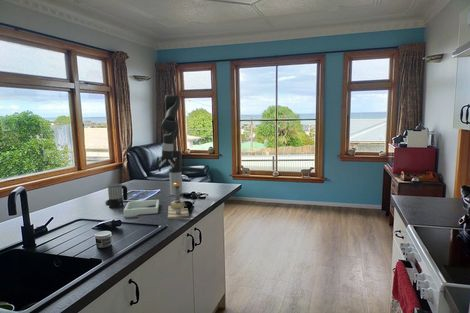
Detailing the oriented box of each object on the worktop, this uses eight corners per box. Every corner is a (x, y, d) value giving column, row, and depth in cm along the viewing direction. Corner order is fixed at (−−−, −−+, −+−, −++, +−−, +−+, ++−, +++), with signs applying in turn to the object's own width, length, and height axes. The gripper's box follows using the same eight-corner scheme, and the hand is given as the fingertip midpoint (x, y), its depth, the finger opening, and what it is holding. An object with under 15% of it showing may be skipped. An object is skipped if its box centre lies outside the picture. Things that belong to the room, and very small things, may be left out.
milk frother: (118, 209, 202) (117, 186, 200) (96, 208, 205) (95, 186, 203) (130, 203, 216) (128, 182, 214) (109, 202, 219) (108, 181, 217)
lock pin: (175, 205, 202) (174, 182, 200) (182, 206, 201) (181, 182, 199) (173, 208, 197) (172, 184, 195) (180, 208, 196) (179, 184, 195)
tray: (128, 208, 203) (128, 201, 202) (159, 206, 206) (158, 199, 206) (123, 217, 184) (123, 210, 183) (157, 214, 188) (157, 207, 187)
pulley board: (168, 207, 203) (167, 193, 202) (187, 206, 205) (186, 192, 204) (167, 219, 179) (167, 204, 178) (188, 217, 181) (188, 202, 180)
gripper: (177, 148, 221) (176, 170, 225) (157, 147, 217) (155, 169, 221) (178, 151, 214) (176, 173, 218) (157, 150, 210) (155, 173, 214)
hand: (166, 171), depth 219 cm, fingers open, 8 cm apart
